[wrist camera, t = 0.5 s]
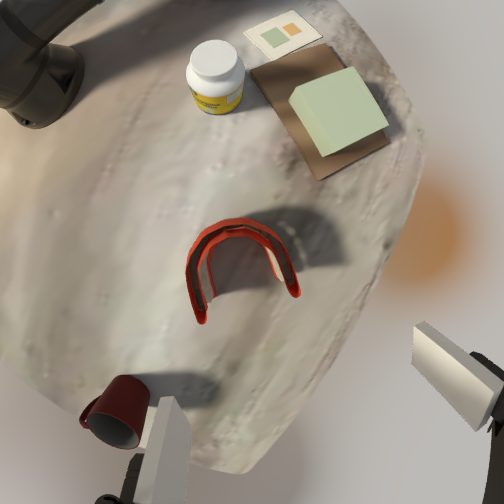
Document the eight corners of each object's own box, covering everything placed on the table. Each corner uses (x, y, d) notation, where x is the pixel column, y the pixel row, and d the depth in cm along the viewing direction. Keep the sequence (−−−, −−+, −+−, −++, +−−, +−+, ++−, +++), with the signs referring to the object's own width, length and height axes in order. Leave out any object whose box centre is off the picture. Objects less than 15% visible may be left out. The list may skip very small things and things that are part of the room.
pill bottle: (186, 89, 32) (170, 50, 20) (228, 69, 32) (227, 24, 20) (208, 125, 33) (198, 94, 22) (250, 103, 33) (259, 66, 22)
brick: (288, 100, 32) (296, 87, 27) (339, 79, 32) (353, 66, 27) (322, 157, 34) (335, 151, 29) (371, 132, 33) (389, 125, 29)
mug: (107, 407, 41) (89, 444, 30) (88, 371, 39) (62, 408, 28) (161, 407, 41) (148, 451, 31) (143, 370, 40) (123, 413, 29)
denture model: (270, 203, 36) (280, 205, 28) (289, 275, 38) (303, 295, 30) (180, 230, 36) (165, 239, 28) (203, 300, 38) (197, 325, 30)
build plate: (249, 73, 32) (250, 70, 31) (323, 46, 31) (325, 42, 30) (316, 180, 36) (319, 180, 34) (384, 143, 35) (388, 142, 34)
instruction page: (243, 33, 30) (243, 32, 30) (292, 10, 30) (292, 9, 29) (273, 61, 32) (273, 60, 31) (321, 37, 31) (322, 36, 31)
